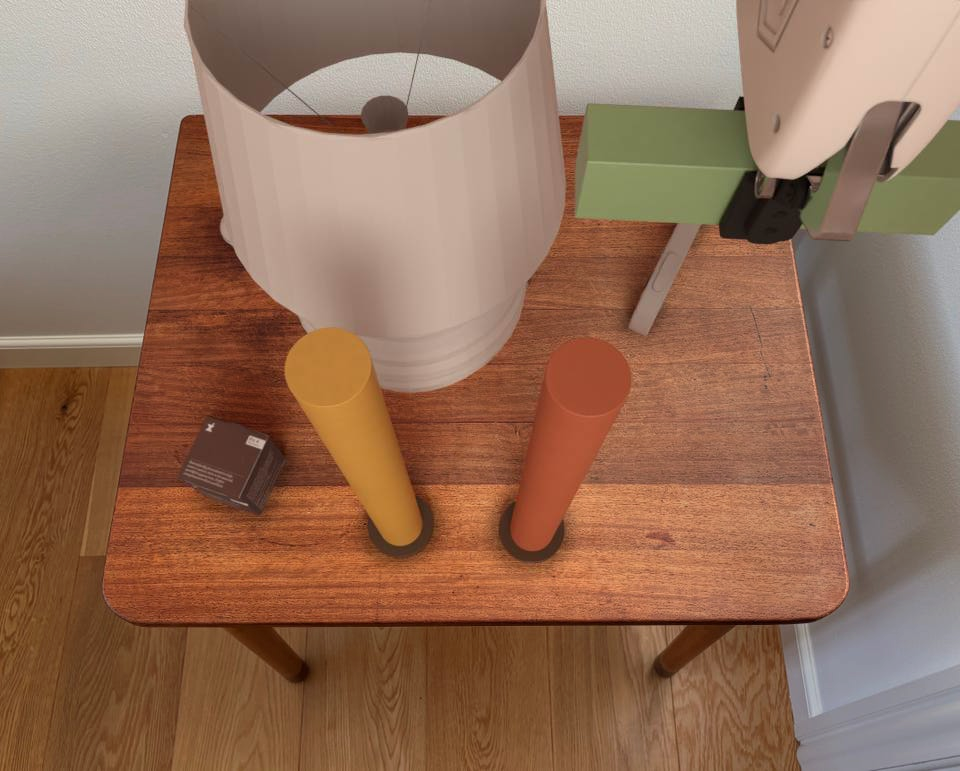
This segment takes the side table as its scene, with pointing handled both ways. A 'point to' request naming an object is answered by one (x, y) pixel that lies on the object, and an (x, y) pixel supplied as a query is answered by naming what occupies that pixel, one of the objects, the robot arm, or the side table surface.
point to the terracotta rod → (563, 443)
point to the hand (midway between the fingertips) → (751, 196)
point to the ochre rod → (359, 435)
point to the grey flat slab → (662, 278)
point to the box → (233, 465)
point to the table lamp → (388, 175)
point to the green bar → (730, 170)
